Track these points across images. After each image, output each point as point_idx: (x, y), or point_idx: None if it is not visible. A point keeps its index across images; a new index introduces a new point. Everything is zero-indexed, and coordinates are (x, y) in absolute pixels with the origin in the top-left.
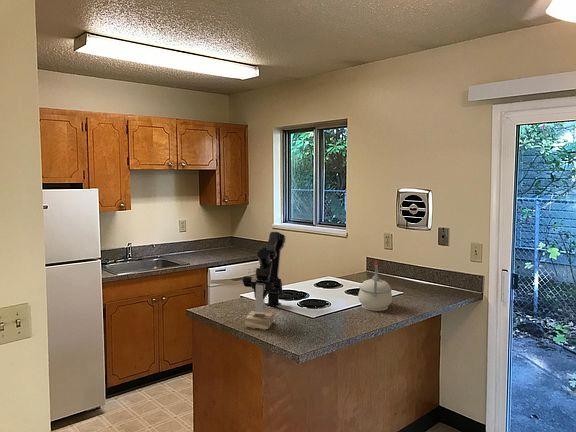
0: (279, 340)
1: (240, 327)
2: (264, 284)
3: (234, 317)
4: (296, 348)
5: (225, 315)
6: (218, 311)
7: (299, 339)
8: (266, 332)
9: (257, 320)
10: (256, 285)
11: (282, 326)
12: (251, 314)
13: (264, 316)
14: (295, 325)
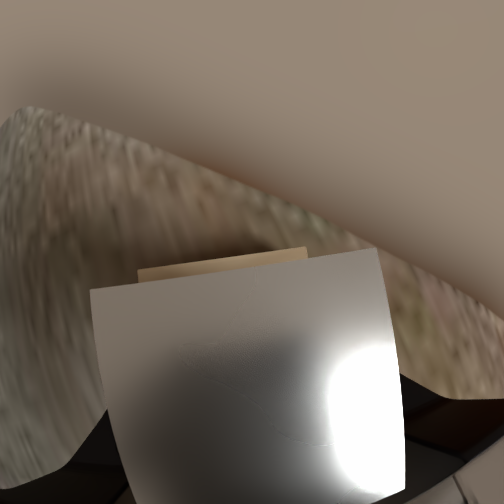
0: (71, 167)
1: (316, 255)
2: (141, 494)
3: None
4: (19, 133)
5: (452, 385)
6: None
7: (5, 214)
8: (147, 236)
9: (215, 261)
10: (342, 254)
11: (96, 362)
12: None
13: None
14: (48, 395)
